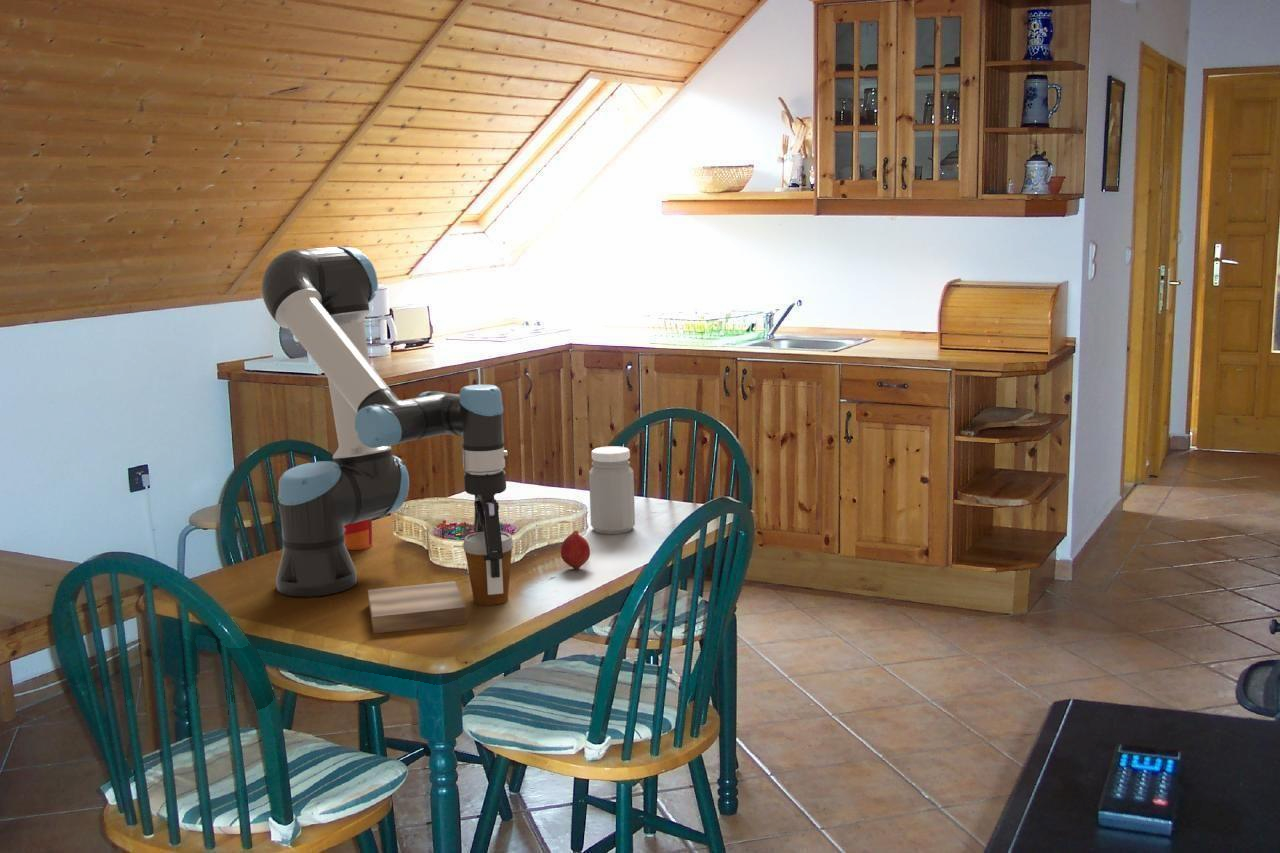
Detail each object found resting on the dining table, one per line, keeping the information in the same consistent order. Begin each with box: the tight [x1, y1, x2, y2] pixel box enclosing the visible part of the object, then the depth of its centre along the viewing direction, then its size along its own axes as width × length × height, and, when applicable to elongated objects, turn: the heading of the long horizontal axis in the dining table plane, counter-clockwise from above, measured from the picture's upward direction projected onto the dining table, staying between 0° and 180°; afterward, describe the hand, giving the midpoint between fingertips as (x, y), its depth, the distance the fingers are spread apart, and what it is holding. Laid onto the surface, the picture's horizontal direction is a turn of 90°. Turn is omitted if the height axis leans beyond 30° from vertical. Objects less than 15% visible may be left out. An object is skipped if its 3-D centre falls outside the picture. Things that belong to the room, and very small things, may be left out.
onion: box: [560, 529, 591, 570], centre depth 258 cm, size 6×6×8 cm
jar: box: [588, 445, 636, 535], centre depth 286 cm, size 10×10×18 cm
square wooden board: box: [367, 580, 468, 634], centre depth 233 cm, size 16×16×3 cm
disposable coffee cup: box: [461, 531, 515, 606], centre depth 240 cm, size 10×10×12 cm
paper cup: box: [344, 518, 373, 551], centre depth 278 cm, size 8×8×14 cm
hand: (490, 583), depth 240 cm, fingers open, 13 cm apart
